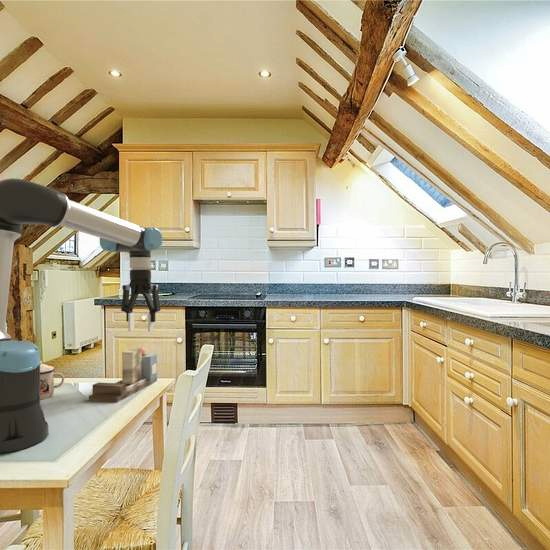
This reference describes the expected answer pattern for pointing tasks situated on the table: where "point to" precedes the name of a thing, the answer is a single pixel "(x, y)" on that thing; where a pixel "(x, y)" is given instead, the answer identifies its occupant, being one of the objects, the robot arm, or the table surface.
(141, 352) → the button
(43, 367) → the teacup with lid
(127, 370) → the carriage
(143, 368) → the cabinet
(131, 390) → the rail bed
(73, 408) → the table surface
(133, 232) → the robot arm
